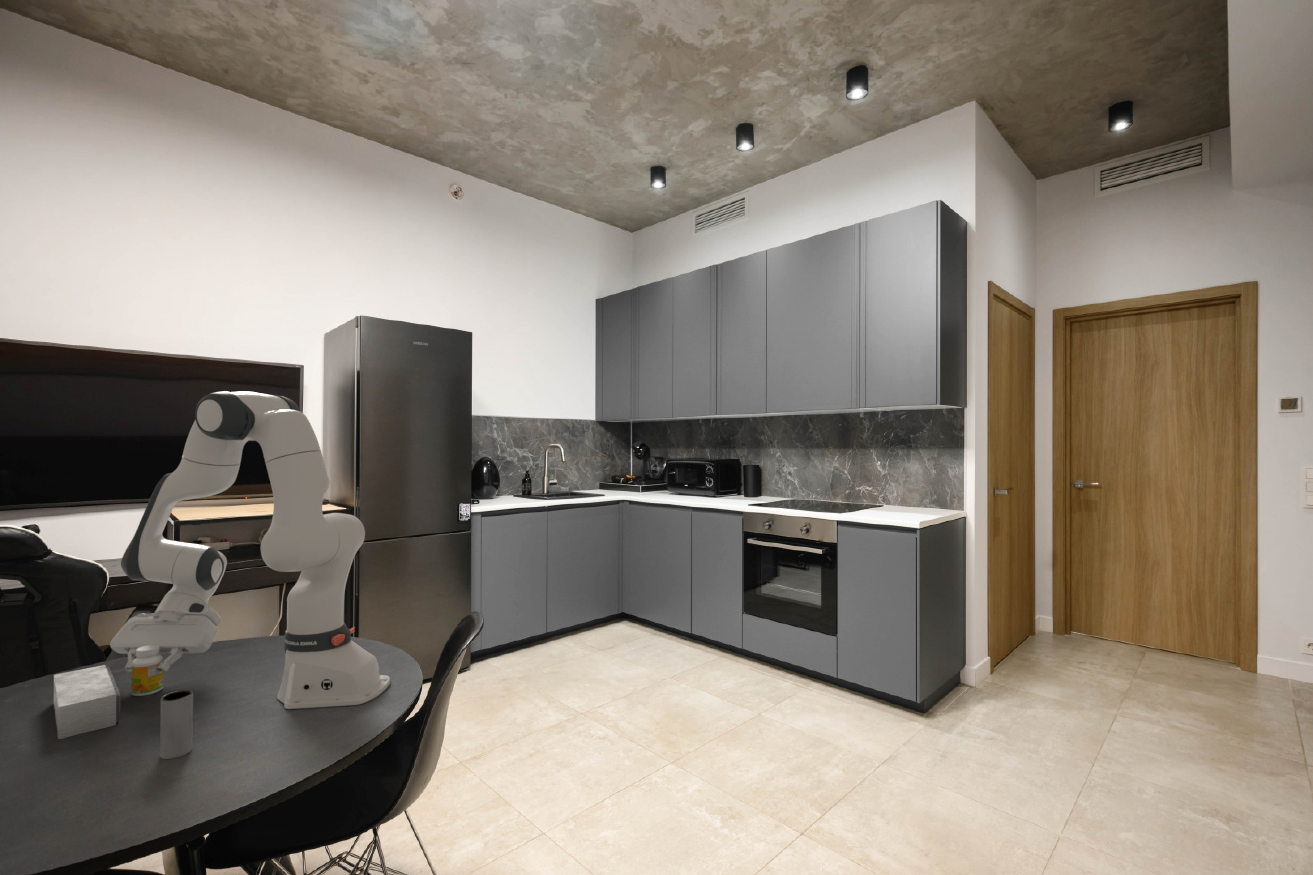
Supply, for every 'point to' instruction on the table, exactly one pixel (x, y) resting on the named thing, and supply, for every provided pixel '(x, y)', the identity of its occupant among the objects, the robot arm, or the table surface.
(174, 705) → the planter
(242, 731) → the table surface
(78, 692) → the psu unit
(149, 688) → the supplement bottle
